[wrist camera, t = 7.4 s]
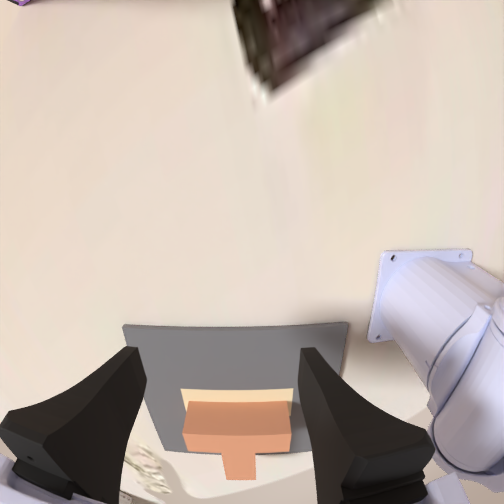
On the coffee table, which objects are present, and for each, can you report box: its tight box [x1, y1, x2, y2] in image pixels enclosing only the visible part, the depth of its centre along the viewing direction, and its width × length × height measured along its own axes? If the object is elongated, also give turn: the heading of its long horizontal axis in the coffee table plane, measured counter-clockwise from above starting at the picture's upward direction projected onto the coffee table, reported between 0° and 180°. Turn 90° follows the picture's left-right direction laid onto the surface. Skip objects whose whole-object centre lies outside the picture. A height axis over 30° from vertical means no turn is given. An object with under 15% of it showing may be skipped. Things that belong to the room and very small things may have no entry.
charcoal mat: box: [122, 322, 348, 455], centre depth 25 cm, size 18×18×1 cm
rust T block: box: [182, 401, 292, 480], centre depth 24 cm, size 9×9×4 cm
